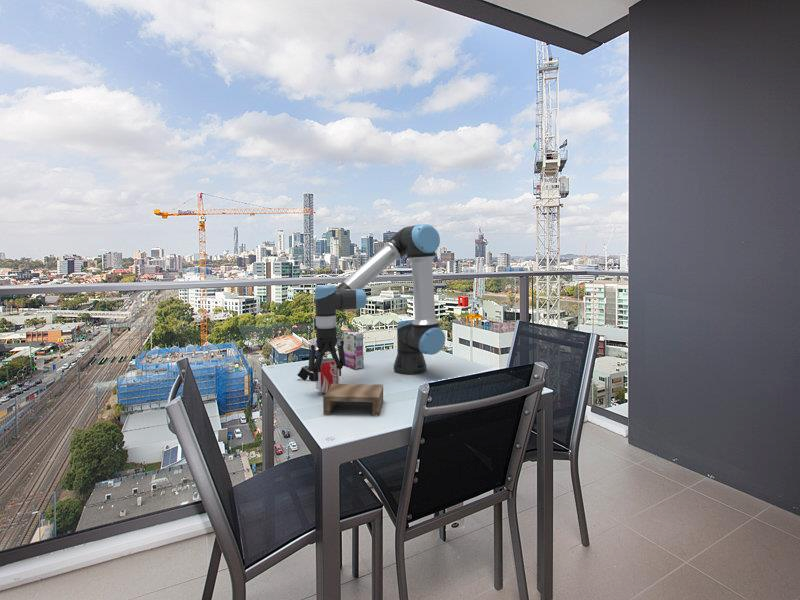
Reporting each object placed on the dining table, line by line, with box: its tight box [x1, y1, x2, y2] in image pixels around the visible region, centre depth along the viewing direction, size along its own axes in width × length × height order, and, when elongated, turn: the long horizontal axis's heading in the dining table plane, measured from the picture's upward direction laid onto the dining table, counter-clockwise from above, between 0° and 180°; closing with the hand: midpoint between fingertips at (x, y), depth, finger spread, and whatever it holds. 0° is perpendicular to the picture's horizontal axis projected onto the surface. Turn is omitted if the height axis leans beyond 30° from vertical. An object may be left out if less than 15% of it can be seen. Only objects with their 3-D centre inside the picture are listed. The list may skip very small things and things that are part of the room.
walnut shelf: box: [322, 383, 384, 417], centre depth 137 cm, size 18×14×6 cm
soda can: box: [318, 357, 337, 394], centre depth 153 cm, size 7×7×12 cm
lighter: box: [296, 365, 315, 382], centre depth 171 cm, size 9×2×6 cm
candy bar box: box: [342, 331, 365, 371], centre depth 192 cm, size 11×5×16 cm, turn 37°
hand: (327, 386), depth 153 cm, fingers closed on soda can, 7 cm apart
